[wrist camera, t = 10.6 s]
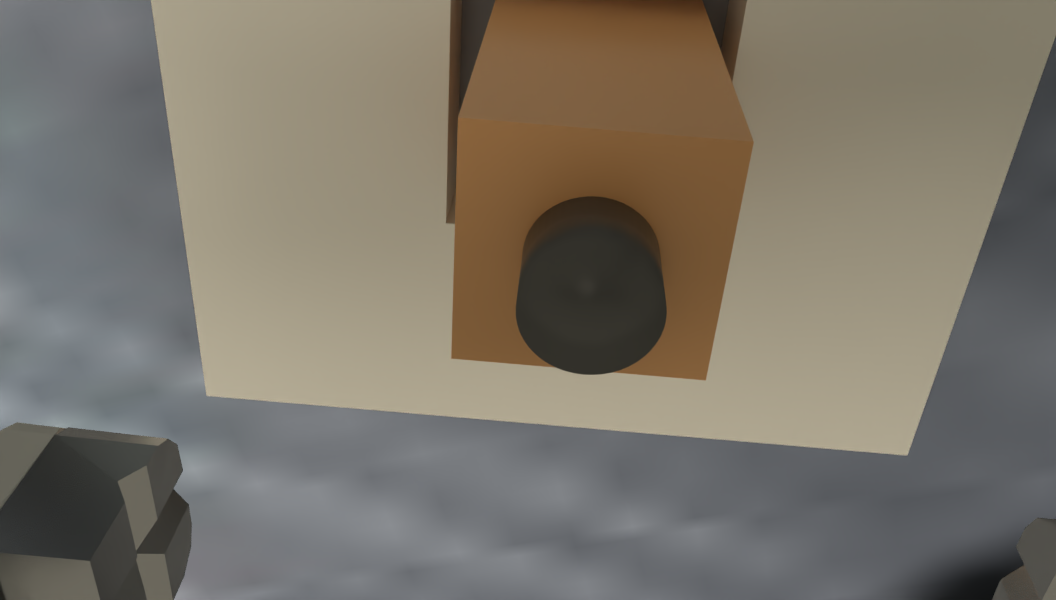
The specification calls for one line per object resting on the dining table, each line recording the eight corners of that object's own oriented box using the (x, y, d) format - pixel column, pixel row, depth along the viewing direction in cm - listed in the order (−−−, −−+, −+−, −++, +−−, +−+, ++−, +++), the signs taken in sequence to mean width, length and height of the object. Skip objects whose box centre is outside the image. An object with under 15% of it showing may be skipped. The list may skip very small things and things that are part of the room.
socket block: (1077, -332, 18) (1187, -338, 15) (867, 359, 27) (907, 455, 23) (183, -397, 19) (92, -420, 15) (255, 308, 27) (206, 395, 24)
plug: (698, -11, 20) (771, 189, 12) (670, 169, 22) (715, 442, 14) (503, -26, 20) (443, 162, 12) (494, 154, 22) (438, 418, 14)
